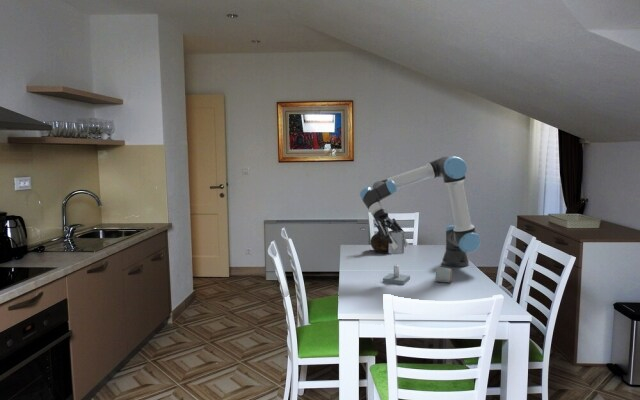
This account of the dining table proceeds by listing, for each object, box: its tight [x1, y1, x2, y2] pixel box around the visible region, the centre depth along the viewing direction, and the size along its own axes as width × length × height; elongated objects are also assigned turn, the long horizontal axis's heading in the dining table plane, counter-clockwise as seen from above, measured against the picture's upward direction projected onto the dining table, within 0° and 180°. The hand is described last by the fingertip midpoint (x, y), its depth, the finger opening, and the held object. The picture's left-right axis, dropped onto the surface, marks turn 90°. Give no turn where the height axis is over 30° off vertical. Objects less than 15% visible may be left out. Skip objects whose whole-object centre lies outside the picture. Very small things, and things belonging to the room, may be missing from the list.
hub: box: [388, 230, 405, 255], centre depth 234 cm, size 7×7×11 cm
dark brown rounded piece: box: [369, 227, 389, 254], centre depth 304 cm, size 18×18×28 cm
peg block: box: [382, 264, 411, 286], centre depth 235 cm, size 11×11×8 cm
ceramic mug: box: [434, 266, 453, 283], centre depth 234 cm, size 11×8×8 cm
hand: (401, 246), depth 231 cm, fingers closed on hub, 8 cm apart
